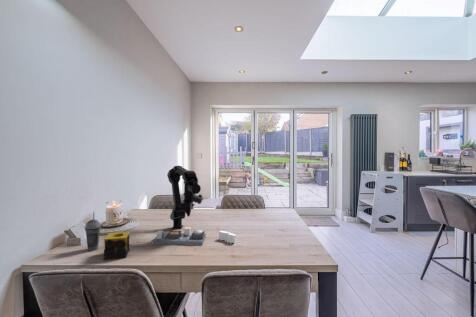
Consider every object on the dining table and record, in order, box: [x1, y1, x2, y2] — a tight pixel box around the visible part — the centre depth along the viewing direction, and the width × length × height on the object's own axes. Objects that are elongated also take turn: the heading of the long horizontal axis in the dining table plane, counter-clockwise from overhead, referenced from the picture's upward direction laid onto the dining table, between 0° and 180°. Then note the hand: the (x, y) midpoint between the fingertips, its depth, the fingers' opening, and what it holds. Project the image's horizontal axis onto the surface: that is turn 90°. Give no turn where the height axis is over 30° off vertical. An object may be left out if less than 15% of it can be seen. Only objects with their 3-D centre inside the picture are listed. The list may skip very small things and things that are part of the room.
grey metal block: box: [156, 230, 165, 240], centre depth 139 cm, size 3×3×4 cm
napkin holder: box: [218, 230, 238, 244], centre depth 142 cm, size 15×11×6 cm
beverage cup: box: [84, 211, 102, 252], centre depth 128 cm, size 7×7×20 cm
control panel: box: [151, 230, 207, 246], centre depth 143 cm, size 13×28×4 cm, turn 89°
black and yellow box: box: [103, 231, 131, 261], centre depth 122 cm, size 10×10×10 cm
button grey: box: [193, 229, 203, 235], centre depth 142 cm, size 5×5×2 cm
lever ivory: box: [183, 226, 192, 235], centre depth 146 cm, size 3×3×4 cm
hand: (188, 216), depth 152 cm, fingers closed
